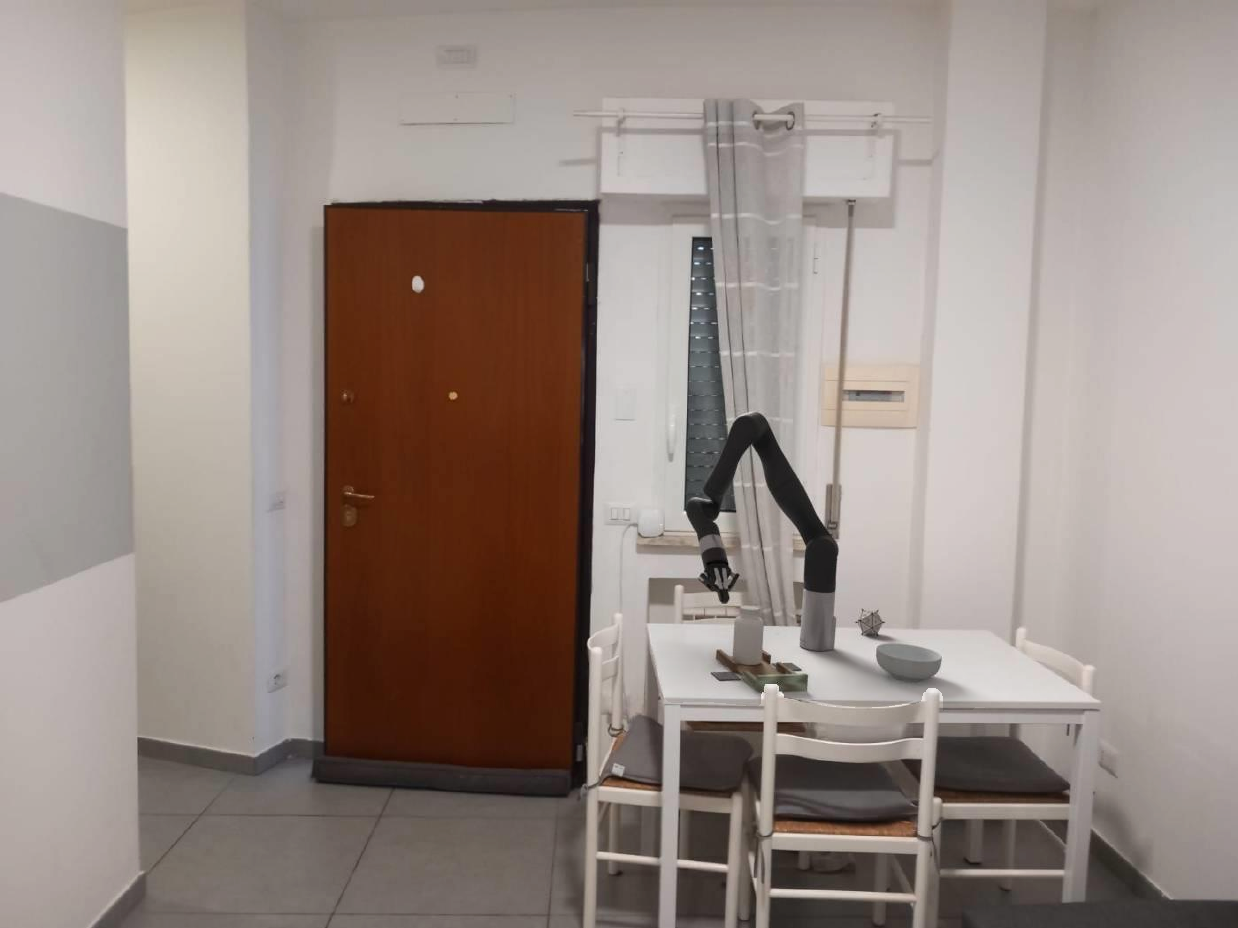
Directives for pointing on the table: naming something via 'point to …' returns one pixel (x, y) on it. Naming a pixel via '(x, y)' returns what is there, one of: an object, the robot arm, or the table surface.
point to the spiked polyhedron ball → (870, 622)
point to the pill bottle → (748, 636)
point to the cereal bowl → (908, 661)
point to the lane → (763, 673)
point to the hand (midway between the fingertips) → (725, 602)
